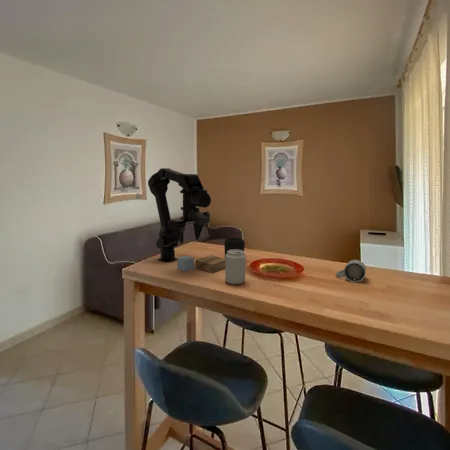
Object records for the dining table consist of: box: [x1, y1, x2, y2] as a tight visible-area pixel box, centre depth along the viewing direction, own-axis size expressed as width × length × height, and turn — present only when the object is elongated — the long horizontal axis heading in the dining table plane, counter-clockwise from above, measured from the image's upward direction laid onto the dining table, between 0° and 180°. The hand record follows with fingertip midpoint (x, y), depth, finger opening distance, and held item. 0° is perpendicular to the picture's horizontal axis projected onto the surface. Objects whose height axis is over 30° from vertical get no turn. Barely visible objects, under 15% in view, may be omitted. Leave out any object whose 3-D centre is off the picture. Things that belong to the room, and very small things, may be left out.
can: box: [224, 249, 247, 286], centre depth 114 cm, size 8×8×12 cm
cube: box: [176, 255, 195, 272], centre depth 130 cm, size 5×5×5 cm
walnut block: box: [194, 254, 226, 274], centre depth 131 cm, size 10×10×4 cm
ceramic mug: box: [335, 259, 367, 283], centre depth 119 cm, size 11×8×8 cm
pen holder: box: [223, 237, 246, 259], centre depth 142 cm, size 9×9×10 cm
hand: (189, 241), depth 128 cm, fingers open, 9 cm apart
